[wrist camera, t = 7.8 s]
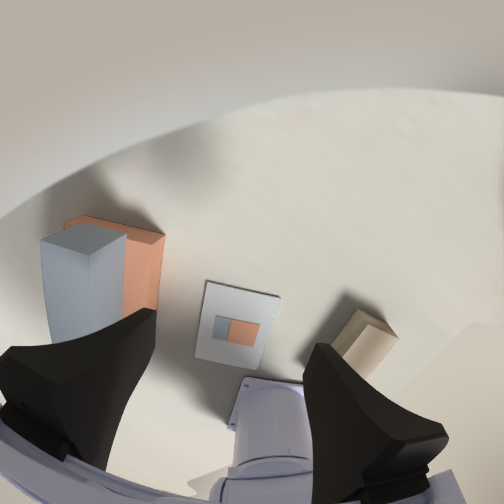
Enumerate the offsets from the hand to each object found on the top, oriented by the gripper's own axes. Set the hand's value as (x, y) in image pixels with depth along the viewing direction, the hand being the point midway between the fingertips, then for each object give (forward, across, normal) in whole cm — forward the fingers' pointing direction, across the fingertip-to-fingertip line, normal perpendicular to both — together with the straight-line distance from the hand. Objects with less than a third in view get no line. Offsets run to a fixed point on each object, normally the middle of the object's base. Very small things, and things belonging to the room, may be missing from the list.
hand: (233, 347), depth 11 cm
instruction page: (+10, 0, +6) cm, 12 cm away
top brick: (+7, +11, +2) cm, 13 cm away
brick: (+11, -11, +6) cm, 17 cm away
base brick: (+10, +11, +3) cm, 15 cm away
